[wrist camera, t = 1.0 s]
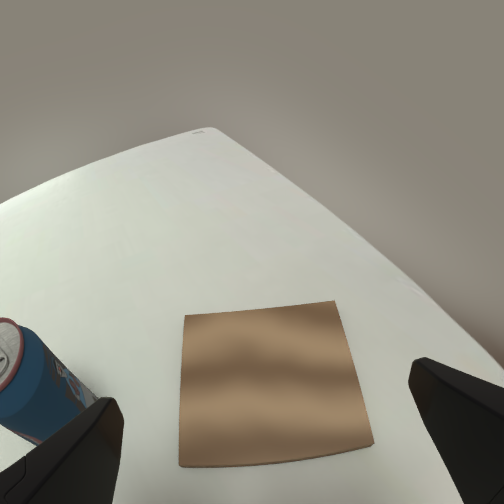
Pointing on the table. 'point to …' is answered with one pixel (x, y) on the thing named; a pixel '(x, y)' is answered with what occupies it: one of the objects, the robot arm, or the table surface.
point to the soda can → (36, 386)
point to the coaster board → (268, 388)
